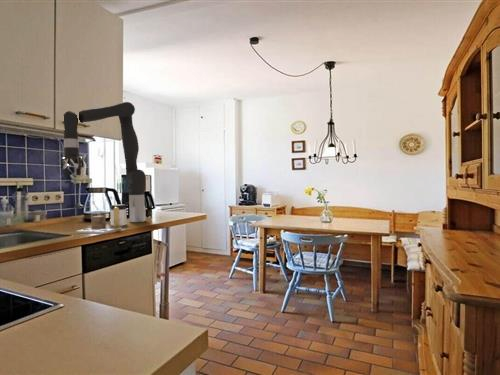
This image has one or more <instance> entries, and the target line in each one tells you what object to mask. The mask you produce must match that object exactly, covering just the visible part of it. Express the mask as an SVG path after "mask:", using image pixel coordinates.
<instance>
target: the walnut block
mask: <svg viewBox="0 0 500 375" xmlns="http://www.w3.org/2000/svg"><path fill="white" fill-rule="evenodd" d="M90 220H91V221H90V224H91V225H90V226H91V228H93V229H107V228H106V226H107V225H106V224H107V223H106V215H95V216H91V217H90Z"/></svg>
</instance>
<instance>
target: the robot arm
mask: <svg viewBox="0 0 500 375" xmlns="http://www.w3.org/2000/svg"><path fill="white" fill-rule="evenodd" d="M78 112H79V120H80V122H81V123H80V124H83V123H89V122H95V121H101V120H105V119H108V118H113V117H118V119H119V123H120V130H121V140H122V142H121V143H122V148H123V154H124V161H125V175H126V176H125V177H126V180H127V182H128V183H129V184H131V188H130V189H129V190H128V203H129V204H128V205H129V208H128V209H129V223H141V222H142V223H143V222H146V220H147V216H146V215H147V214H146V211H147V210H146V205H145V192H146V184H147V183H146V182H147V181H146V179H147V178H146V174H145V171H143V169H142V170H141V169H139V168H138V165H137V164H138V163H137V161H138V156H139V148H140V147H139V140H138V136H137V134H136V131H135V127H134V124H133V115H134V114H135V112H136V108H135V106H134V104H133V103H131V102H129V101H123V102H121V103H117V104H115V105H110V106H104V107H103V106H102V107H96V108H95V107H94V108H89V109H82V110H80V111H78ZM63 116H64V121H63V155H64V156H65V157H61V158H60V168H61V169H63V174H64V176H68V177H69V176H70V173H69V172H70V170H69V168H70V167H71V166H74V167H75V168H76V171H75V172H76V173H75V174H76V176H81V174H82V169H83V168H84V167H85V165H84V157H83V156H80V144H79V143H80V142H79V136H78V135H79V133H78V132H79V131H78V125H79V124H78V118H77V115H76V114H75V111H72V110H68V111H66V112H64V113H63ZM64 129H65V130H64Z"/></svg>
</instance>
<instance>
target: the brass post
mask: <svg viewBox="0 0 500 375" xmlns="http://www.w3.org/2000/svg"><path fill="white" fill-rule="evenodd" d="M111 229H114V231H120V230H122V227H121V226H120V222H119V208H118V207H115V208H114V226H113V227H112V228H111Z"/></svg>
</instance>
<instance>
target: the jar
mask: <svg viewBox="0 0 500 375" xmlns="http://www.w3.org/2000/svg"><path fill="white" fill-rule="evenodd" d="M115 207H118V208H119V222H120V227H121V226H125V225H127V224H128V221H127V207H126V204H122V203H121V204H111V205H110V211H109V213H110V226H111V227H114V208H115Z"/></svg>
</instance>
